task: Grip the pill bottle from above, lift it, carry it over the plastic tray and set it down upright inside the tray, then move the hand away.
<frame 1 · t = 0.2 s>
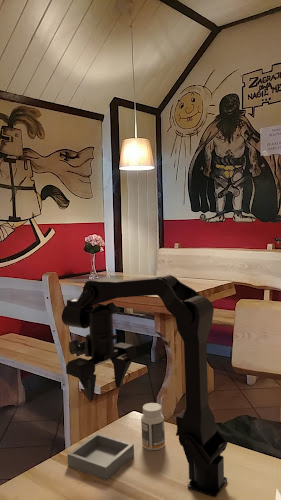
hand: (104, 393, 108), 14 cm above the table, tool pointing down, fingers open, 9 cm apart
tray: (101, 461, 105), on the table
pill bottle: (153, 445, 111), on the table
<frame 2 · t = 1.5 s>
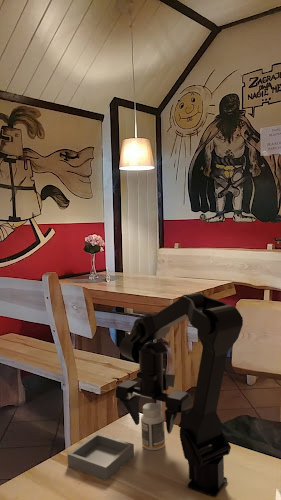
hand: (153, 428, 111), 4 cm above the table, tool pointing down, fingers open, 9 cm apart
nothing on the table moved.
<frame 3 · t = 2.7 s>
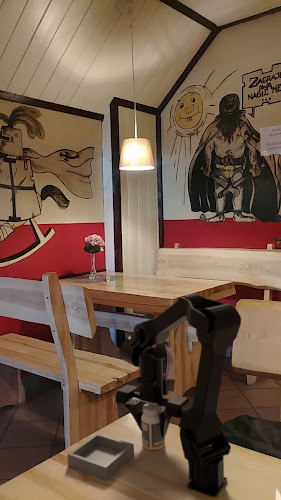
hand: (153, 433, 111), 3 cm above the table, tool pointing down, fingers closed on pill bottle, 6 cm apart
pill bottle: (153, 445, 111), on the table, touching gripper
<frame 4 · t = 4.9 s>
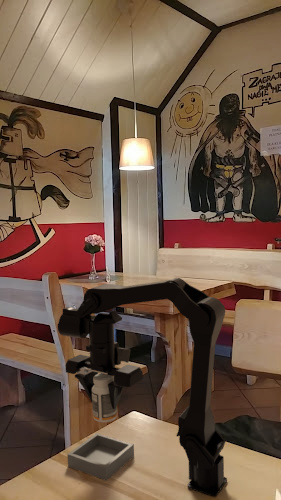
hand: (104, 405, 104), 13 cm above the table, tool pointing down, fingers closed on pill bottle, 6 cm apart
pill bottle: (104, 418, 105), point 10 cm above the table, touching gripper
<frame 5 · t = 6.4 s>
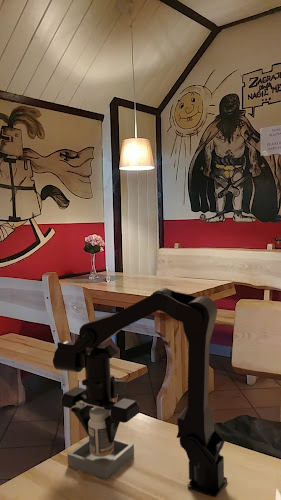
hand: (101, 438, 104), 5 cm above the table, tool pointing down, fingers closed on pill bottle, 6 cm apart
pill bottle: (101, 452, 104), point 2 cm above the table, touching gripper
when the fingers open (5 cm above the table, at t = 7.3 s): pill bottle drops 1 cm, resting on tray.
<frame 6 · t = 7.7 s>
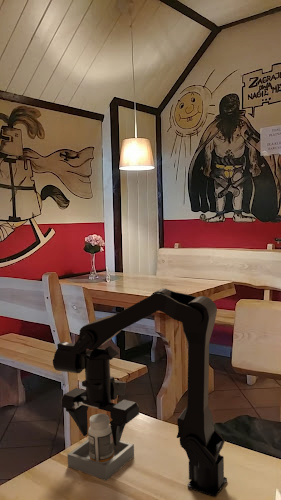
hand: (100, 440, 104), 5 cm above the table, tool pointing down, fingers open, 9 cm apart
pill bottle: (101, 459, 105), resting on tray
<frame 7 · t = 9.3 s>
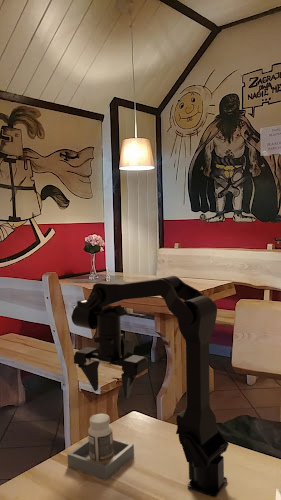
hand: (111, 393, 110), 13 cm above the table, tool pointing down, fingers open, 9 cm apart
nothing on the table moved.
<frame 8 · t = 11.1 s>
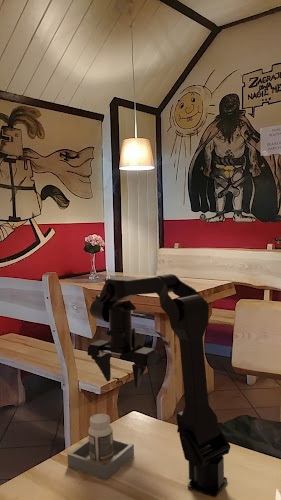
hand: (122, 384, 117), 13 cm above the table, tool pointing down, fingers open, 9 cm apart
nothing on the table moved.
at the end: pill bottle 0.1 cm off-centre on the tray, point 0.4 cm above the tray's base; pill bottle tilted 0°; the gripper is holding nothing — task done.
